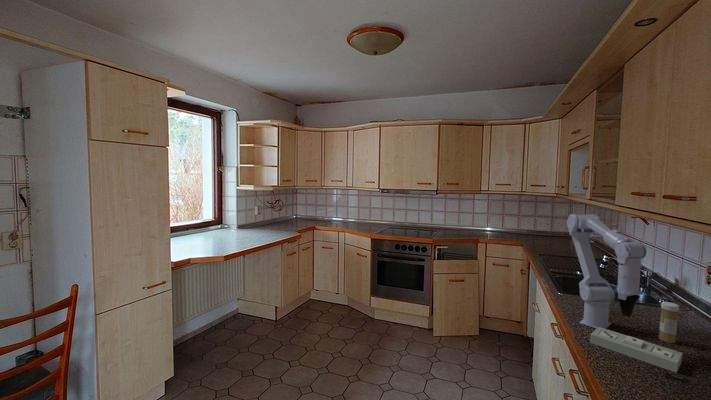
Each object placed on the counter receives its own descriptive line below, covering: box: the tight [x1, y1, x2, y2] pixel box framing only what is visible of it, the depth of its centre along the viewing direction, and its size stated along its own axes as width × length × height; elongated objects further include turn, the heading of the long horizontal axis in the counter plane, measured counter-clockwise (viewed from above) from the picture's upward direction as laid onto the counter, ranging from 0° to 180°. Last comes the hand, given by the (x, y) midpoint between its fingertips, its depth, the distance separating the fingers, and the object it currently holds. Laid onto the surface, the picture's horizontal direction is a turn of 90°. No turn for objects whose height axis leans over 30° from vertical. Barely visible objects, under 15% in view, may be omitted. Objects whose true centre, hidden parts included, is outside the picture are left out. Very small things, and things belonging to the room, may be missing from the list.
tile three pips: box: [599, 331, 618, 340], centre depth 114 cm, size 4×4×2 cm
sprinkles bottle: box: [658, 301, 680, 344], centre depth 116 cm, size 5×5×14 cm
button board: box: [589, 327, 684, 374], centre depth 109 cm, size 9×22×3 cm, turn 38°
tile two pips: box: [652, 347, 673, 358], centre depth 103 cm, size 4×4×2 cm
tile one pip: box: [624, 335, 645, 349], centre depth 109 cm, size 4×4×2 cm
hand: (626, 315), depth 113 cm, fingers closed
